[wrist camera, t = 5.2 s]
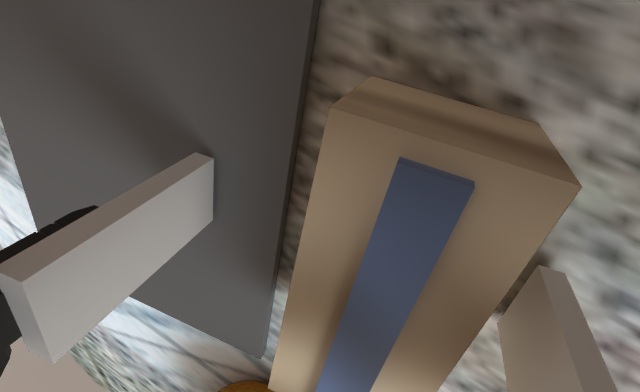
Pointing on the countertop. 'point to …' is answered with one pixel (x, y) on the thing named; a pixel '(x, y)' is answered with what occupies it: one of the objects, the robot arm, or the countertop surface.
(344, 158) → the card box
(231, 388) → the decorated donut
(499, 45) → the countertop surface
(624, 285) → the countertop surface
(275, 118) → the mat
